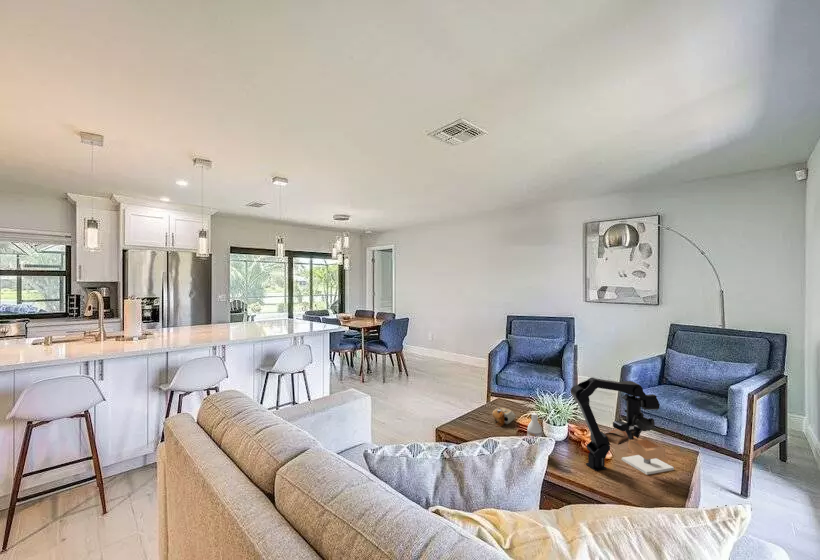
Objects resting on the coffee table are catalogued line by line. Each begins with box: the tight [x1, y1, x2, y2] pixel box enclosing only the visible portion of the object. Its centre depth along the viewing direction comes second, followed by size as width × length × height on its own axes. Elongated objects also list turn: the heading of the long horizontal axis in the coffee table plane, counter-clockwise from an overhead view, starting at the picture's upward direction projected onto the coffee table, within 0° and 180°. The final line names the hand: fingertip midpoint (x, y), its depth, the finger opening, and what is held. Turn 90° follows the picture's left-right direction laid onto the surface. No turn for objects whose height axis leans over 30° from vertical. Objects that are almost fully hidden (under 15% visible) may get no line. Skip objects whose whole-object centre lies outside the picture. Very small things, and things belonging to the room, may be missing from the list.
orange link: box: [627, 436, 667, 460], centre depth 171 cm, size 10×14×4 cm
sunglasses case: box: [604, 428, 629, 445], centre depth 208 cm, size 18×7×7 cm, turn 125°
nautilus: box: [491, 407, 516, 428], centre depth 229 cm, size 8×22×15 cm
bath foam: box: [526, 412, 543, 437], centre depth 190 cm, size 7×7×20 cm
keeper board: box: [621, 454, 675, 475], centre depth 179 cm, size 16×14×5 cm
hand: (633, 442), depth 176 cm, fingers closed on orange link, 2 cm apart
